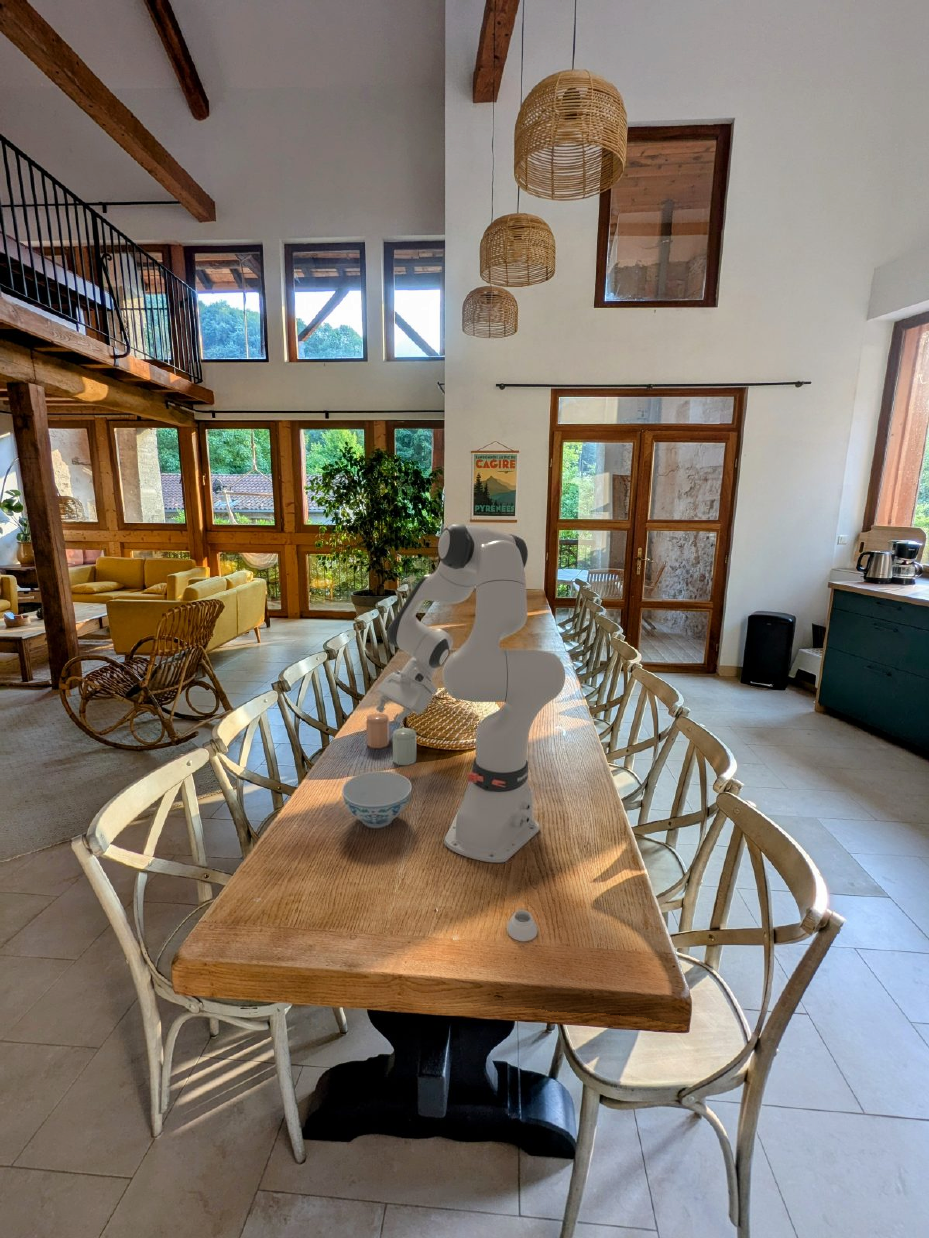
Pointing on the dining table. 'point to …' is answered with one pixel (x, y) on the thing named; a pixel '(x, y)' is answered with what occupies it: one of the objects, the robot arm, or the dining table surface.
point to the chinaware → (377, 797)
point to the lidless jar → (522, 926)
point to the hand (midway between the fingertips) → (387, 716)
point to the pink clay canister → (377, 730)
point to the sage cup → (404, 746)
